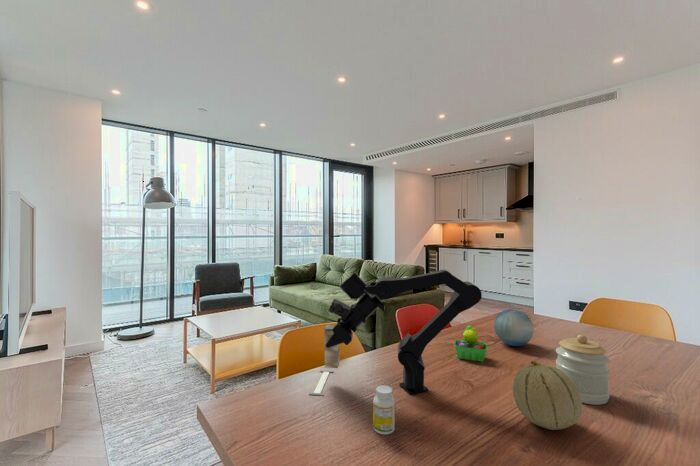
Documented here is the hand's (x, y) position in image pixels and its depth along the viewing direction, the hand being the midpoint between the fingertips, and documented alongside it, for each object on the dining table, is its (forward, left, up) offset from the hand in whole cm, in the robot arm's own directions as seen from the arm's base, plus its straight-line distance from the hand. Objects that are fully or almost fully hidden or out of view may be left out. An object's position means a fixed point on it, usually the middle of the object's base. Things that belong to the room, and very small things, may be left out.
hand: (327, 344), depth 101 cm
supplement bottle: (-27, -5, -12) cm, 30 cm away
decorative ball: (+2, -83, -12) cm, 84 cm away
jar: (-35, -67, -12) cm, 77 cm away
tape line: (+1, +2, -12) cm, 12 cm away
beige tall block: (-1, -1, -7) cm, 7 cm away
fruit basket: (-1, -57, -13) cm, 58 cm away
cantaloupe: (-41, -43, -12) cm, 61 cm away
